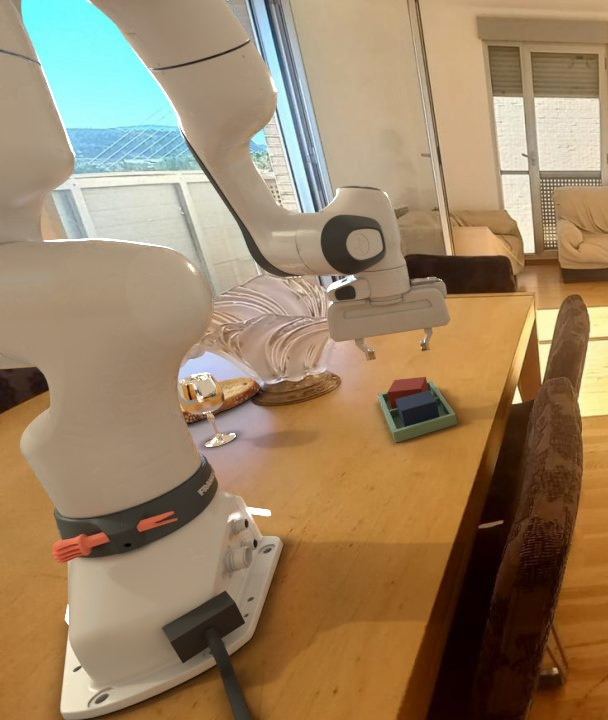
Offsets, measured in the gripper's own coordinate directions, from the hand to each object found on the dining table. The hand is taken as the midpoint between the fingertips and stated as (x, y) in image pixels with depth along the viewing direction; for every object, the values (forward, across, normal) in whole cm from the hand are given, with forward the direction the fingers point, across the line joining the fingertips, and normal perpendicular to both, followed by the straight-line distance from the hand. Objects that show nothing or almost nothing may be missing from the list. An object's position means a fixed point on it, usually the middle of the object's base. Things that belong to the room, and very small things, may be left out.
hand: (399, 354), depth 90 cm
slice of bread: (+11, +39, -20) cm, 45 cm away
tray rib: (+11, -1, +4) cm, 12 cm away
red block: (+10, 0, 0) cm, 10 cm away
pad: (+10, -1, +8) cm, 13 cm away
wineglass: (+11, +31, -3) cm, 33 cm away
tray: (+11, -1, +4) cm, 12 cm away
